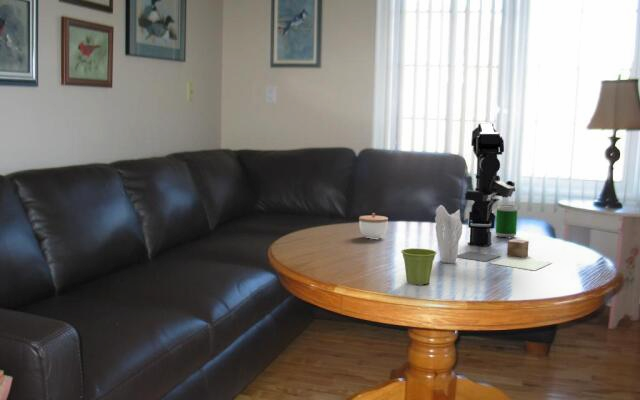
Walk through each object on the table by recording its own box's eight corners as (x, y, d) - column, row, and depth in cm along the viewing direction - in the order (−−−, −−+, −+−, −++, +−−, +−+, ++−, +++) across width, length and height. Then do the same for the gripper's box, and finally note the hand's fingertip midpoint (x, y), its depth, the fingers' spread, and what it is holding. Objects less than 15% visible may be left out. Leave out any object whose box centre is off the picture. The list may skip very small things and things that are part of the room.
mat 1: (453, 256, 214) (453, 256, 214) (469, 251, 223) (469, 251, 223) (485, 261, 207) (485, 261, 207) (500, 256, 216) (500, 255, 216)
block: (507, 255, 218) (507, 240, 217) (513, 253, 221) (514, 238, 221) (521, 258, 214) (522, 243, 214) (527, 255, 218) (528, 240, 218)
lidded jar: (368, 234, 254) (368, 210, 252) (392, 237, 247) (393, 212, 246) (353, 238, 245) (353, 213, 244) (378, 241, 239) (378, 216, 238)
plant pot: (397, 278, 184) (398, 248, 183) (430, 278, 185) (431, 248, 184) (404, 287, 175) (405, 255, 174) (439, 287, 176) (440, 254, 174)
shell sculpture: (461, 260, 209) (463, 203, 207) (460, 265, 201) (463, 207, 199) (434, 258, 211) (436, 202, 209) (433, 264, 203) (435, 205, 201)
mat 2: (490, 263, 205) (490, 263, 205) (509, 256, 215) (509, 256, 215) (534, 270, 196) (534, 270, 196) (552, 263, 207) (552, 262, 207)
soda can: (516, 238, 249) (518, 207, 247) (496, 237, 250) (497, 206, 249) (515, 235, 256) (516, 204, 254) (495, 234, 257) (496, 203, 256)
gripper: (498, 175, 198) (496, 227, 200) (524, 172, 212) (521, 220, 214) (464, 173, 205) (462, 222, 207) (491, 170, 219) (489, 216, 221)
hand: (485, 220), depth 212 cm, fingers closed
